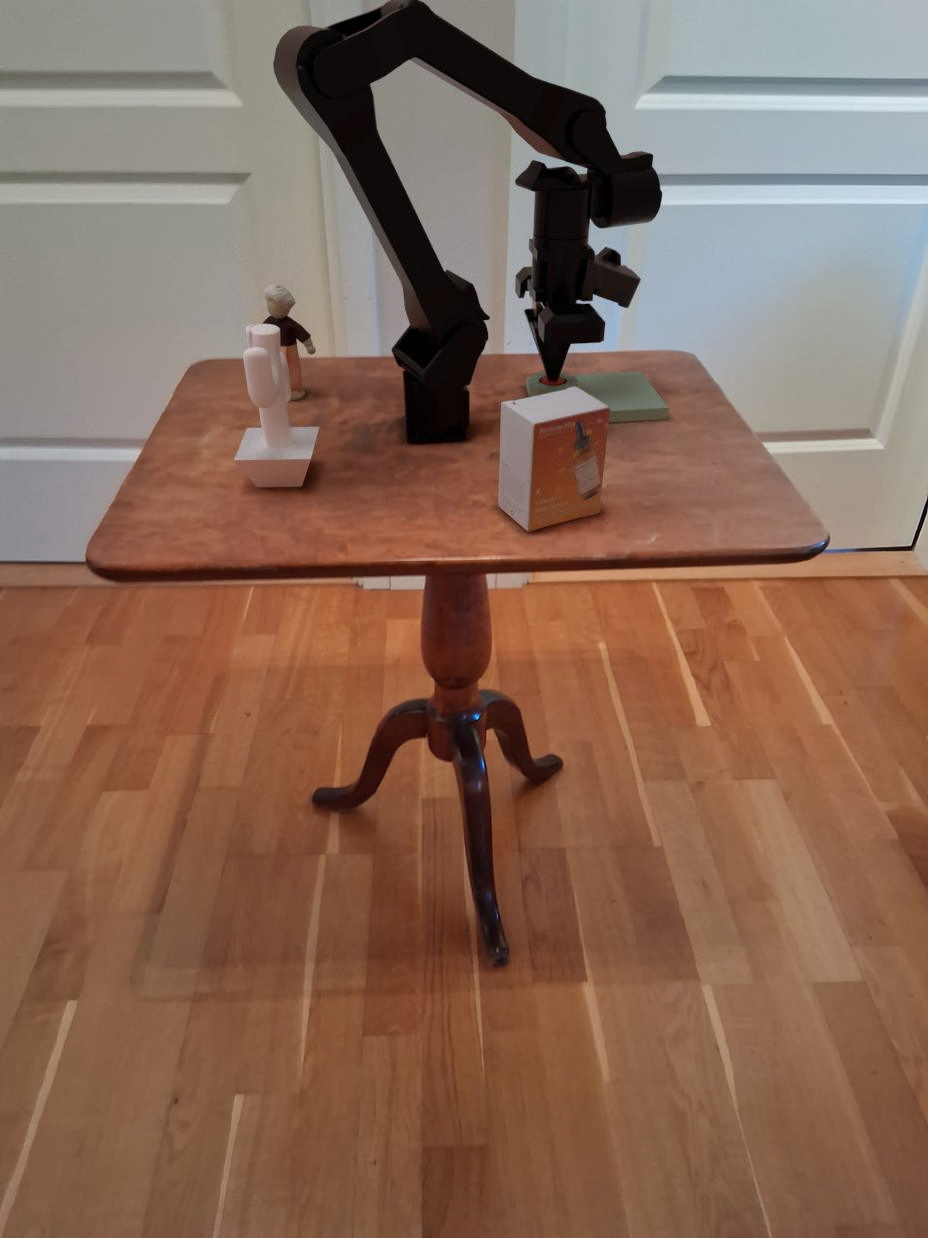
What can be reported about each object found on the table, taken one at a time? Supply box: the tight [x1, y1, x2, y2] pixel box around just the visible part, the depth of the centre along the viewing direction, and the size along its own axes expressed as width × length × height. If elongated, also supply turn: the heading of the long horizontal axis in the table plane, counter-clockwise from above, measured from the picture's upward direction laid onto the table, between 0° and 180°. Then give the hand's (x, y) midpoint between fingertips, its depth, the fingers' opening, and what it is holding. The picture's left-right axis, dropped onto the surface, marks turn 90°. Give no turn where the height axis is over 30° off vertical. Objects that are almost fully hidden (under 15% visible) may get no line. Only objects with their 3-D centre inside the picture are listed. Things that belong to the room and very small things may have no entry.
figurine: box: [233, 323, 320, 488], centre depth 85 cm, size 7×9×15 cm
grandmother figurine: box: [261, 284, 317, 401], centre depth 102 cm, size 8×4×13 cm, turn 77°
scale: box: [525, 370, 669, 423], centre depth 103 cm, size 15×11×3 cm
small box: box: [497, 387, 610, 533], centre depth 80 cm, size 8×6×10 cm
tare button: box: [541, 376, 565, 386], centre depth 102 cm, size 3×3×2 cm
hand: (552, 379), depth 101 cm, fingers closed, pressing on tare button
